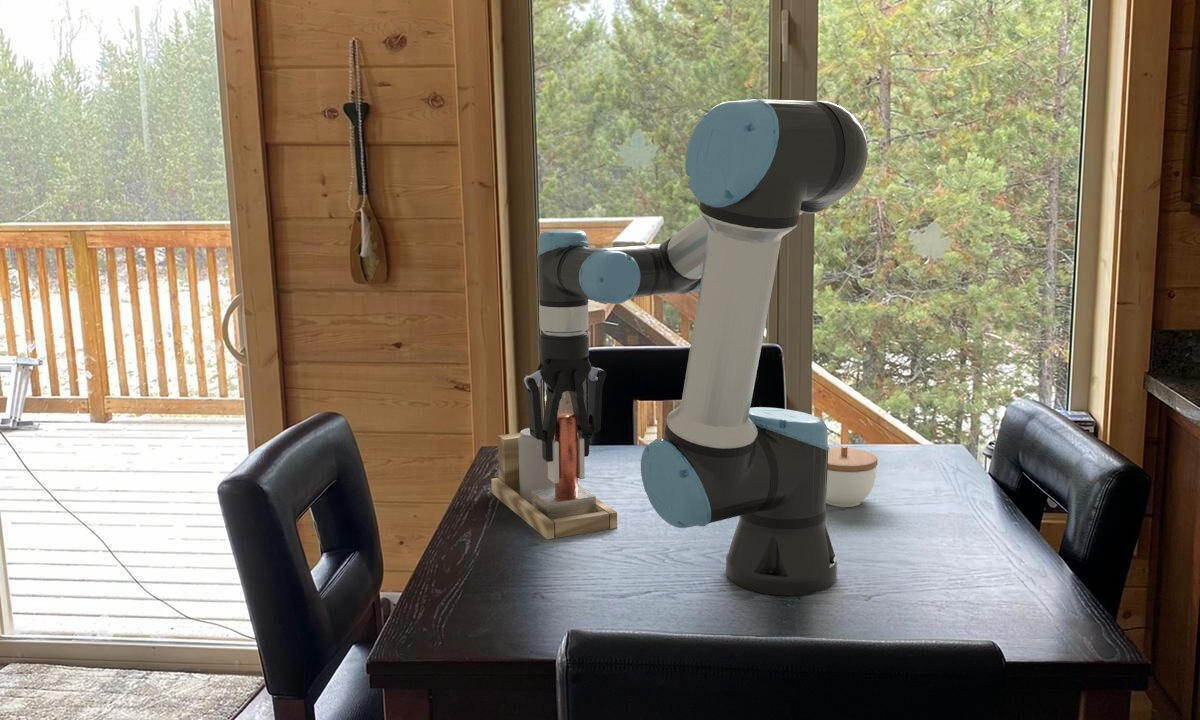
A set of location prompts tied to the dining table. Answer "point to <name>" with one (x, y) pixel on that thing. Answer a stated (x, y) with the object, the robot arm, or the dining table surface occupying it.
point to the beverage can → (532, 466)
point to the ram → (565, 477)
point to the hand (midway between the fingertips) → (566, 478)
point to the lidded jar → (849, 476)
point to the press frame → (510, 496)
